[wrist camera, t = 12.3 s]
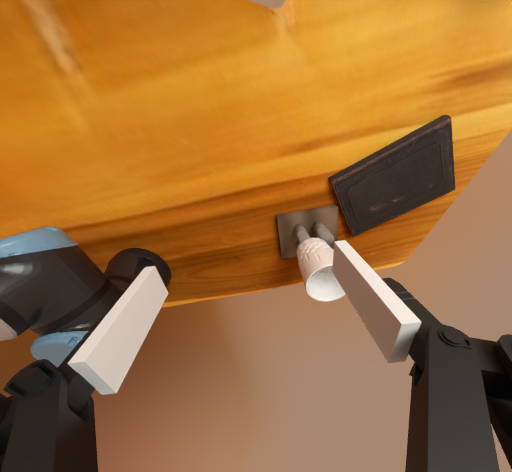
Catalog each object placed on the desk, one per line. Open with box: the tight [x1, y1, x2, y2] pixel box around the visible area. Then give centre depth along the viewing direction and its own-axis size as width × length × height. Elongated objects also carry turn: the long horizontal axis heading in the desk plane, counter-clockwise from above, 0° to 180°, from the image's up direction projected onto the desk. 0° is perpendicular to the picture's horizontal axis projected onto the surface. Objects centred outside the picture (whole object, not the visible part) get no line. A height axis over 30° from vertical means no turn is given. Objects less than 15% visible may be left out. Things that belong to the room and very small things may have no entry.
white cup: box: [296, 238, 345, 301], centre depth 35 cm, size 8×8×10 cm
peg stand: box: [276, 205, 338, 259], centre depth 43 cm, size 14×12×8 cm
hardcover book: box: [329, 115, 455, 237], centre depth 41 cm, size 16×23×2 cm
